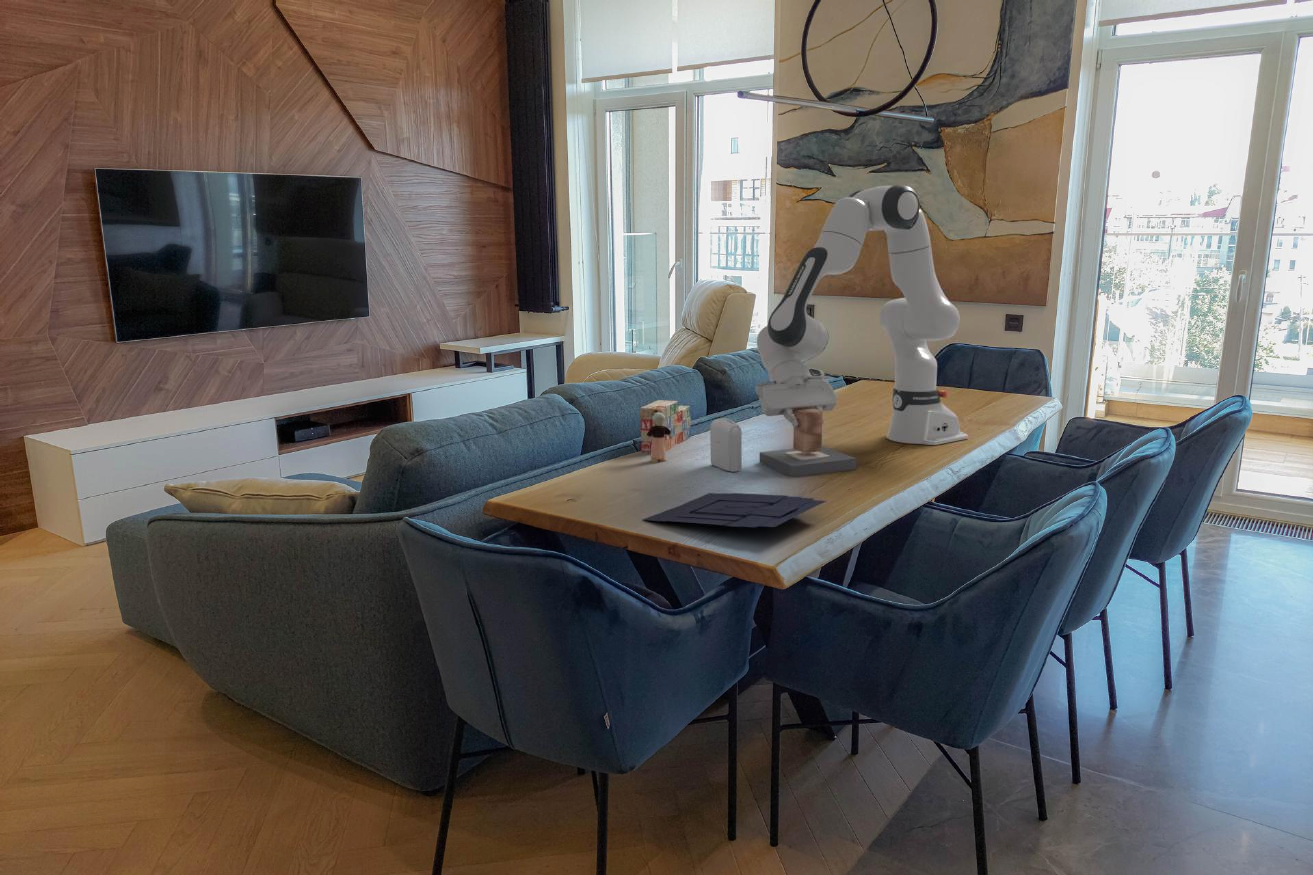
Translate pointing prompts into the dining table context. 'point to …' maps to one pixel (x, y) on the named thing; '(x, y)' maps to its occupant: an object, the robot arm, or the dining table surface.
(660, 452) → the grandmother figurine
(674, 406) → the stack of blocks
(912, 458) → the dining table surface
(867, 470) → the dining table surface
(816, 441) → the terracotta block
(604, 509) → the dining table surface
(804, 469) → the base plate
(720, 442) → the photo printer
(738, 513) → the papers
